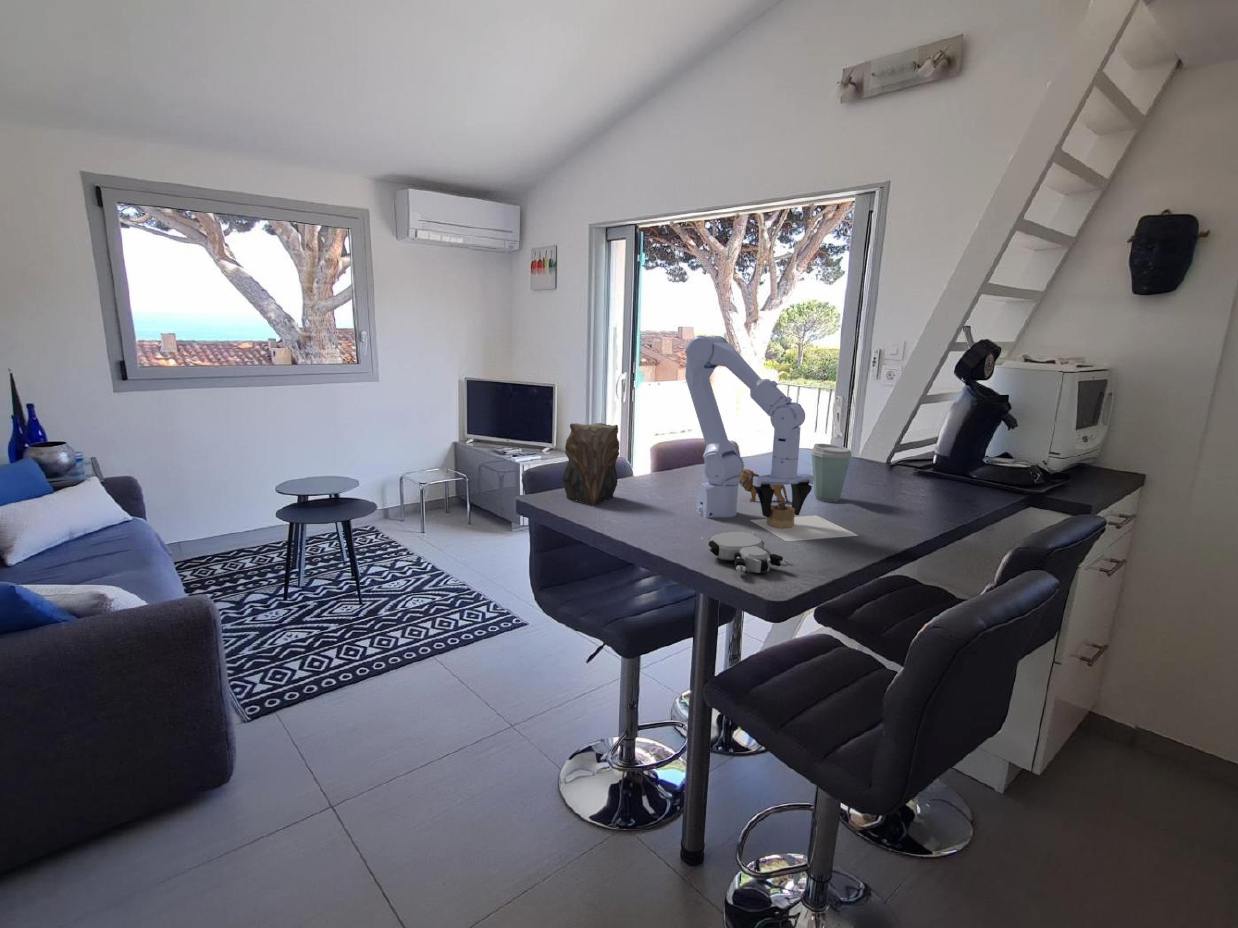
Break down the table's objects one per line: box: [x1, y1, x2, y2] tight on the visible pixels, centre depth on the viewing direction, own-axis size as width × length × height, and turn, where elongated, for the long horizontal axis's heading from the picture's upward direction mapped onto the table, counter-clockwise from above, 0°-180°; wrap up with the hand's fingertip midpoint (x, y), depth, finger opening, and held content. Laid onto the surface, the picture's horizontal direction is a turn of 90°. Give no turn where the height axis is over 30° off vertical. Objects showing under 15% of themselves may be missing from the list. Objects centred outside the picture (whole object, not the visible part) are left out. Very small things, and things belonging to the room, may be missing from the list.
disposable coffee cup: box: [810, 443, 852, 503], centre depth 174 cm, size 11×11×15 cm
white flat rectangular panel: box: [750, 514, 859, 542], centre depth 145 cm, size 18×16×1 cm
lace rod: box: [777, 501, 786, 510], centre depth 146 cm, size 2×2×6 cm
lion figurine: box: [738, 468, 791, 504], centre depth 169 cm, size 15×5×9 cm, turn 73°
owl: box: [561, 422, 620, 506], centre depth 170 cm, size 13×13×20 cm
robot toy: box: [700, 531, 790, 574], centre depth 124 cm, size 12×4×15 cm
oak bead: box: [766, 504, 796, 529], centre depth 146 cm, size 6×6×4 cm
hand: (780, 515), depth 146 cm, fingers open, 7 cm apart
